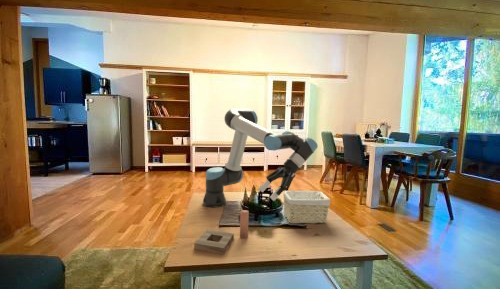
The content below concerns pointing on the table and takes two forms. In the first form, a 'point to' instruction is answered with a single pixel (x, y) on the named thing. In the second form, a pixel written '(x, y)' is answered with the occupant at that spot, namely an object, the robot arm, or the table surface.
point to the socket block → (212, 246)
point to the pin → (244, 224)
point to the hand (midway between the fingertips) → (265, 194)
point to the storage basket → (306, 206)
